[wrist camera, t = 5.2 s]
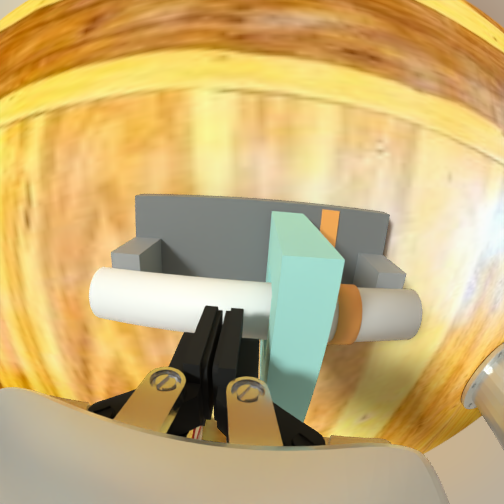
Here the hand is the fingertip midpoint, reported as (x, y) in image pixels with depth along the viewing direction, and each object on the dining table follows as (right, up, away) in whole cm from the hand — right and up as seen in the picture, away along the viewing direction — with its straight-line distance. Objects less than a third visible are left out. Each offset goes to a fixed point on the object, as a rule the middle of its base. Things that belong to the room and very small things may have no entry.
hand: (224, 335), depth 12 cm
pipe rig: (+2, +3, +9) cm, 9 cm away
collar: (+3, +2, +7) cm, 8 cm away
